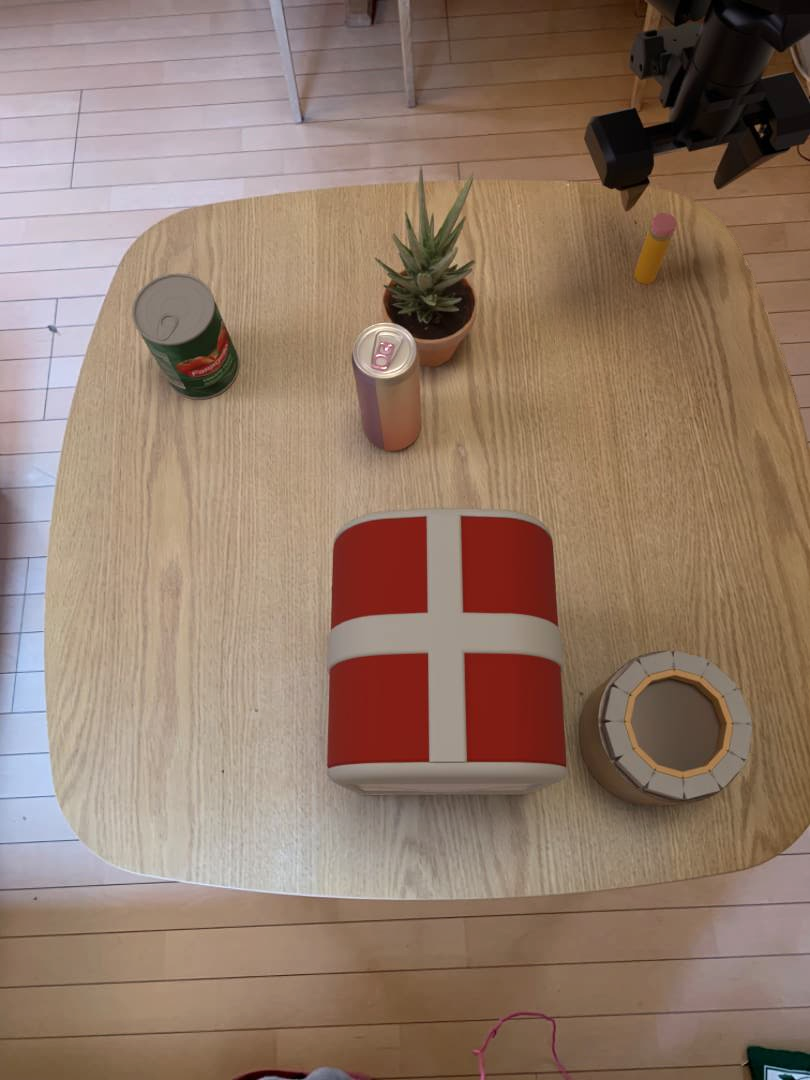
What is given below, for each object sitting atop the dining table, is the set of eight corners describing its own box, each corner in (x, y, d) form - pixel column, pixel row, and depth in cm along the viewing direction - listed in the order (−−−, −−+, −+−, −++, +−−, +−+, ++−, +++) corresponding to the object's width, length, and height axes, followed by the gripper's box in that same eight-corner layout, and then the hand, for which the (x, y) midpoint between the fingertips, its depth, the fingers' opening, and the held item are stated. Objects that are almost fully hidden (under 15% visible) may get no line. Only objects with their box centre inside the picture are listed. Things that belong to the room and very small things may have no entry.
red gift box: (526, 603, 81) (569, 499, 56) (536, 795, 76) (588, 777, 50) (354, 604, 82) (318, 502, 56) (350, 796, 76) (309, 778, 50)
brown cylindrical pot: (685, 657, 79) (718, 635, 70) (732, 787, 75) (772, 781, 66) (562, 688, 79) (578, 670, 70) (602, 821, 75) (625, 820, 66)
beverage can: (356, 445, 87) (341, 370, 73) (373, 395, 89) (362, 313, 75) (411, 460, 86) (407, 387, 72) (428, 409, 88) (427, 329, 74)
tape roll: (715, 641, 70) (721, 637, 69) (766, 777, 66) (773, 776, 65) (584, 673, 69) (588, 670, 68) (628, 813, 66) (633, 813, 64)
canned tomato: (181, 328, 92) (149, 264, 82) (249, 344, 91) (226, 281, 81) (155, 391, 90) (119, 333, 80) (225, 407, 89) (197, 351, 79)
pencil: (651, 263, 93) (672, 210, 85) (659, 281, 92) (680, 229, 84) (630, 268, 93) (649, 215, 85) (637, 286, 92) (657, 234, 84)
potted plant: (477, 306, 92) (492, 129, 69) (470, 383, 89) (483, 226, 66) (386, 300, 93) (370, 122, 69) (376, 376, 90) (355, 217, 66)
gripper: (800, -42, 69) (731, 109, 84) (581, 6, 67) (551, 151, 82) (857, 62, 65) (775, 200, 80) (628, 115, 64) (588, 245, 79)
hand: (671, 196), depth 81 cm, fingers open, 9 cm apart
